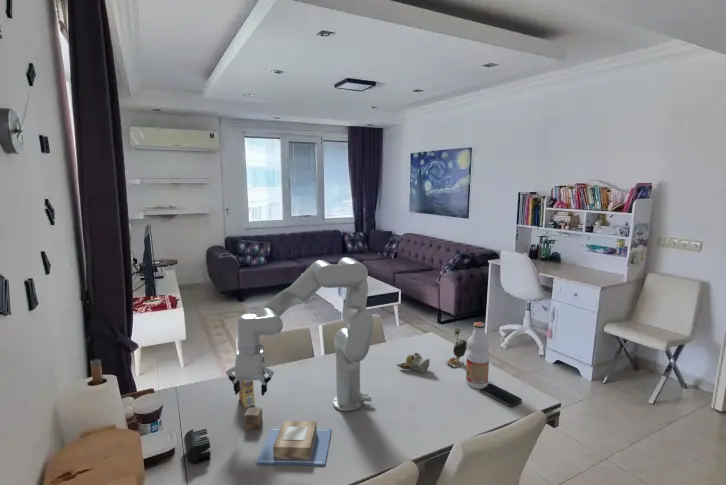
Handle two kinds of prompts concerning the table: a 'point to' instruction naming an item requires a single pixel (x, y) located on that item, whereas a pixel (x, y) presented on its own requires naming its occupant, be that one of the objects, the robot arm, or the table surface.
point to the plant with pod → (458, 350)
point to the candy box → (247, 393)
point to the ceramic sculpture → (415, 363)
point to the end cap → (197, 446)
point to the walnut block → (253, 418)
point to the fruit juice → (477, 358)
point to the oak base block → (295, 440)
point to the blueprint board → (316, 459)
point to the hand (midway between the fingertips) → (250, 393)
